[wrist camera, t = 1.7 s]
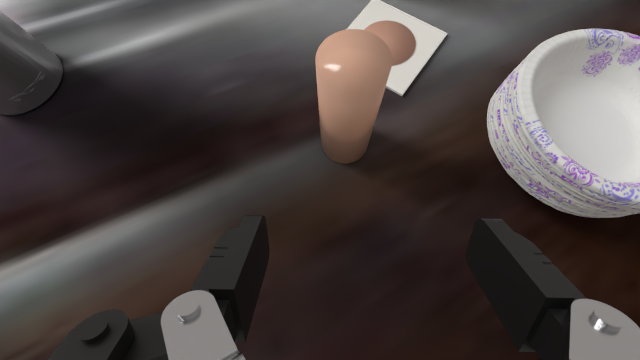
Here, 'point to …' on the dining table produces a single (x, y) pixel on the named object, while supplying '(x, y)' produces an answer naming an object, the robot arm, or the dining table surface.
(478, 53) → the dining table surface
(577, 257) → the dining table surface
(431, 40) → the card
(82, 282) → the dining table surface
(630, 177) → the paper bowls
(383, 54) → the terracotta tube
